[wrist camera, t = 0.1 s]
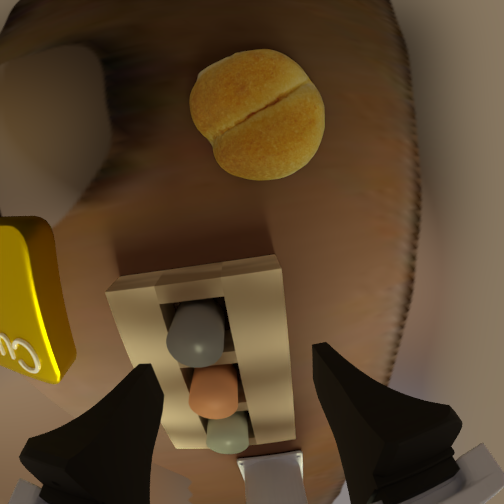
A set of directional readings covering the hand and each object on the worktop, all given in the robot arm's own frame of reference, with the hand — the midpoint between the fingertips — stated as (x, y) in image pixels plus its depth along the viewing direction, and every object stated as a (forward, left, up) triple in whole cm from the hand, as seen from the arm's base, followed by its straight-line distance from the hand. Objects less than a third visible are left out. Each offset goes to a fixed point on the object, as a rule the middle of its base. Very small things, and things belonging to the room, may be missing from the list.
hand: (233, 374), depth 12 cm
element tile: (+2, +23, -11) cm, 25 cm away
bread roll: (+12, -3, -10) cm, 16 cm away
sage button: (-13, +3, -8) cm, 15 cm away
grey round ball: (-2, +3, -8) cm, 9 cm away
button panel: (-7, +3, -10) cm, 12 cm away
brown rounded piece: (-7, +3, -8) cm, 11 cm away
